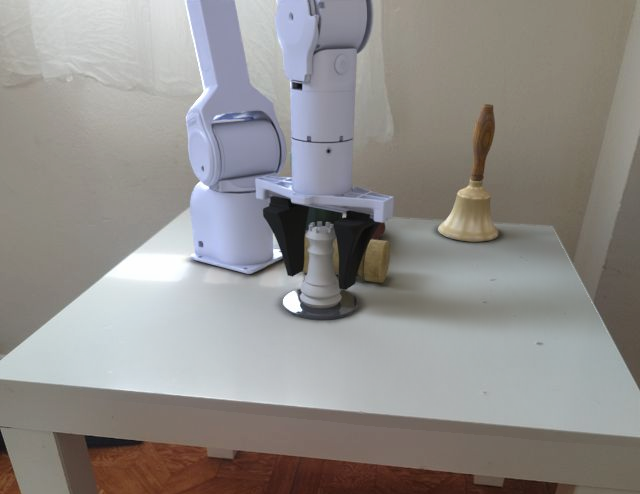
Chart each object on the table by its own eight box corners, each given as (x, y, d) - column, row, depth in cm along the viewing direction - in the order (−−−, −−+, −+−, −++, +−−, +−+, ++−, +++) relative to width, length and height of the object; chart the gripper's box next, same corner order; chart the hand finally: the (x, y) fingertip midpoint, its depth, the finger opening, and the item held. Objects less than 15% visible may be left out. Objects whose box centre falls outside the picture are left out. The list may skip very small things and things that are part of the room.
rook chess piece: (300, 292, 67) (300, 218, 62) (341, 293, 67) (344, 218, 62) (298, 309, 63) (297, 231, 59) (341, 310, 63) (344, 232, 59)
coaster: (267, 307, 64) (267, 305, 64) (309, 283, 70) (309, 281, 70) (332, 326, 61) (332, 323, 61) (371, 299, 66) (371, 297, 66)
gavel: (348, 201, 86) (419, 209, 83) (346, 235, 88) (415, 243, 86) (295, 236, 69) (382, 246, 66) (295, 276, 71) (379, 288, 68)
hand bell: (509, 232, 86) (532, 104, 77) (479, 246, 81) (501, 111, 72) (457, 220, 90) (474, 98, 81) (426, 233, 85) (440, 104, 76)
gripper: (232, 134, 56) (241, 276, 64) (371, 154, 50) (362, 309, 58) (277, 124, 61) (281, 257, 69) (409, 140, 55) (396, 285, 63)
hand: (320, 279), depth 64 cm, fingers open, 6 cm apart
